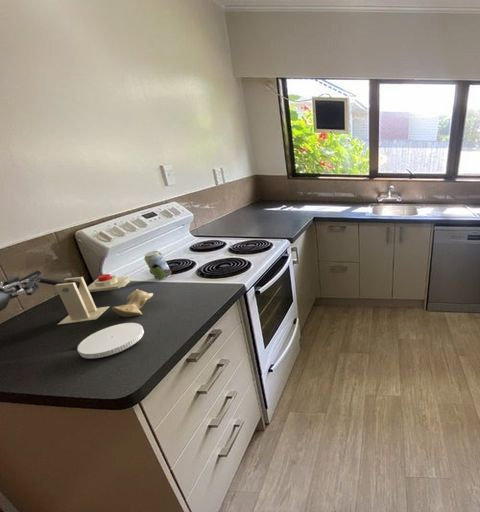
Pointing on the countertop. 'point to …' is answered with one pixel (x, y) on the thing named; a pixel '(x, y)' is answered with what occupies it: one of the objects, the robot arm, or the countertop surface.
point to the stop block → (108, 284)
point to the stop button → (104, 277)
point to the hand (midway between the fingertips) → (27, 278)
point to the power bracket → (78, 301)
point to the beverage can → (157, 265)
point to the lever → (47, 280)
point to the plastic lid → (110, 340)
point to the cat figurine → (133, 304)
